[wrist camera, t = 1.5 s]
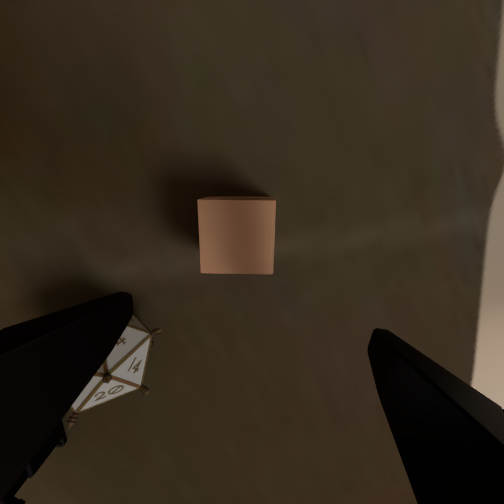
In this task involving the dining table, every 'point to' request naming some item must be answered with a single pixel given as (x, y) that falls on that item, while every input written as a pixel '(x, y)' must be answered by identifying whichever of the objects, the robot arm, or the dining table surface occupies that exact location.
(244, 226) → the terracotta block
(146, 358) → the game die
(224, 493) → the dining table surface
